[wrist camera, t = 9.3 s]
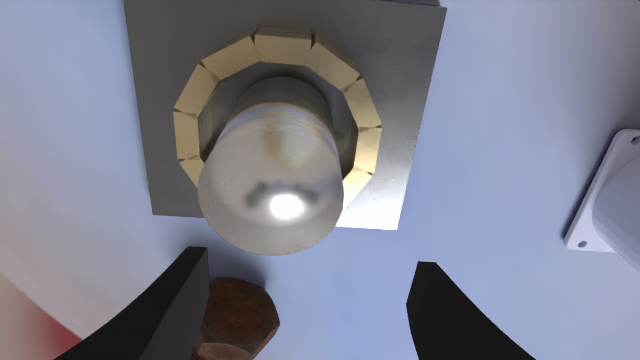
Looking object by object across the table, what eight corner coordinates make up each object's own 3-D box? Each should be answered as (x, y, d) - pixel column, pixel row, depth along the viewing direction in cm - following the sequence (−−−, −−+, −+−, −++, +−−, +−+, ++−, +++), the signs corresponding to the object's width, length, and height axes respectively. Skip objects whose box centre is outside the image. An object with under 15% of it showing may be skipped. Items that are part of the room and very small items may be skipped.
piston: (338, 80, 18) (353, 135, 12) (327, 173, 21) (336, 258, 15) (232, 72, 18) (192, 124, 12) (234, 167, 20) (201, 252, 14)
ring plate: (440, 6, 18) (467, 13, 15) (393, 220, 23) (405, 257, 20) (130, -26, 17) (90, -25, 14) (158, 205, 23) (134, 242, 19)
